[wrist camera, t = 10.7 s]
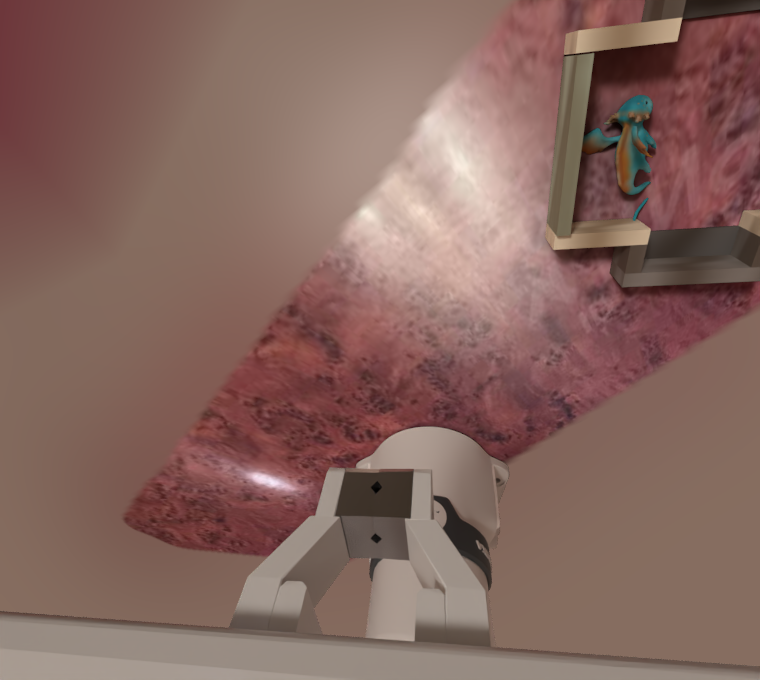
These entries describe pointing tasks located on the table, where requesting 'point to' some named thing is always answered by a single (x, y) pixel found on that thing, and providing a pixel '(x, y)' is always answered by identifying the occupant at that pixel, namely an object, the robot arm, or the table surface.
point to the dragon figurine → (627, 143)
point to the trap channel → (632, 238)
